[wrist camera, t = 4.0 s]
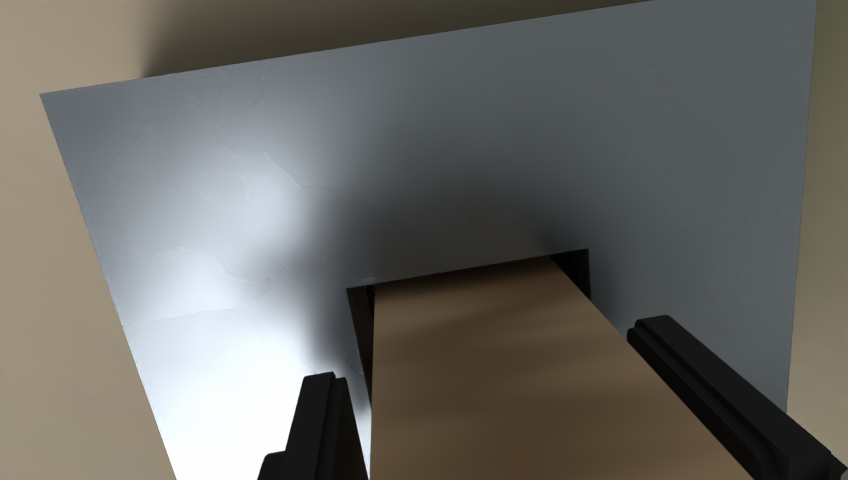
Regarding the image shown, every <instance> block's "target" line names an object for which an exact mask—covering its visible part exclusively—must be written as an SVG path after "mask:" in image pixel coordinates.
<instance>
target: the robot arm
mask: <svg viewBox="0 0 848 480" xmlns="http://www.w3.org/2000/svg"><path fill="white" fill-rule="evenodd" d="M627 342H628V343H629V344H630V345H631V346H632V347H633V348H634V349H635V351H636V352H637V353H638V354H639V355H640V356H641V357H642V358H643V359H644V360H645V361H646V363H647V364H648V365H649V366H650V367H651V368H652V369H653V370H654V371H655V372H656V373H657V375H658V376H659V377H660V378H661V379H662V380H663V381H664V382H665V383H666V384H667V385H668V387H669V388H670V389H671V390H672V391H673V392H674V393H675V394H676V395H677V396H678V397H679V399H680V400H681V401H682V402H683V403H684V404H685V405H686V406H687V407H688V408H689V409H690V411H691V412H692V413H693V414H694V415H695V416H696V417H697V418H698V419H699V420H700V421H701V423H702V424H703V425H704V426H705V427H706V428H707V429H708V430H709V431H710V432H711V433H712V435H713V436H714V437H715V438H716V439H717V440H718V441H719V442H720V443H721V444H722V445H723V447H724V448H725V449H726V450H727V451H728V452H729V453H730V454H731V455H732V456H733V457H734V459H735V460H736V461H737V462H738V463H739V464H740V465H741V466H742V467H743V468H744V469H745V471H746V472H747V473H748V474H749V475H750V476H751V477H752V478H753V479H754V480H848V467H846V466H845V465H844V464H843V463H842V462H840V461H839V460H838V459H837V458H836V457H835V456H833V455H832V454H831V451H830V450H829V449H827V448H826V447H825V446H824V445H823V444H821V443H820V442H819V441H818V440H817V439H815V438H814V437H813V436H812V435H811V434H809V433H808V432H807V431H806V430H805V429H804V428H802V427H801V426H800V425H799V424H798V423H796V422H795V421H794V420H793V419H792V418H790V417H789V416H788V415H787V414H786V413H785V412H783V411H782V410H781V409H780V408H779V407H777V406H776V405H775V404H774V403H773V402H771V401H770V400H769V399H768V398H767V397H766V396H764V395H763V394H762V393H761V392H760V391H758V390H757V389H756V388H755V387H754V386H752V385H751V384H750V383H749V382H748V381H746V380H745V379H744V378H743V377H742V376H741V375H739V374H738V373H737V372H736V371H735V370H733V369H732V368H731V367H730V366H729V365H727V364H726V363H725V362H724V361H723V360H722V359H720V358H719V357H718V356H717V355H716V354H714V353H713V352H712V351H711V350H710V349H708V348H707V347H706V346H705V345H704V344H703V343H701V342H700V341H699V340H698V339H697V338H695V337H694V336H693V335H692V334H691V333H689V332H688V331H687V330H686V329H685V328H683V327H682V326H681V325H680V324H679V323H678V322H676V321H675V320H674V319H673V318H672V317H670V316H669V315H660V316H654V317H648V318H643V319H637V321H636V322H635V325H634V328H629V329H628V331H627ZM257 480H369V479H368V474H367V470H366V465H365V461H364V456H363V451H362V447H361V442H360V438H359V433H358V429H357V424H356V420H355V415H354V411H353V406H352V401H351V397H350V392H349V388H348V383H347V380H346V378H345V377H341V378H336V375H335V373H334V372H333V371H331V372H325V373H319V374H313V375H307V376H304V378H303V381H302V385H301V389H300V393H299V397H298V401H297V405H296V409H295V412H294V416H293V420H292V424H291V428H290V432H289V436H288V440H287V444H286V448H285V451H280V452H274V453H268V454H267V455H266V456H265V457H264V460H263V462H262V465H261V468H260V471H259V475H258V478H257Z"/></svg>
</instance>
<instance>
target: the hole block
mask: <svg viewBox="0 0 848 480" xmlns="http://www.w3.org/2000/svg"><path fill="white" fill-rule="evenodd" d="M816 8H817V0H652V1H645V2H638V3H632V4H625V5H619V6H612V7H606V8H599V9H593V10H586V11H579V12H573V13H566V14H560V15H553V16H547V17H540V18H534V19H527V20H520V21H514V22H507V23H501V24H494V25H488V26H481V27H475V28H468V29H461V30H455V31H448V32H442V33H435V34H429V35H422V36H416V37H409V38H402V39H396V40H389V41H383V42H376V43H370V44H363V45H357V46H350V47H343V48H337V49H330V50H324V51H317V52H311V53H304V54H298V55H291V56H284V57H278V58H271V59H265V60H258V61H252V62H245V63H239V64H232V65H225V66H219V67H212V68H206V69H199V70H193V71H186V72H180V73H173V74H166V75H160V76H153V77H147V78H140V79H134V80H127V81H121V82H114V83H107V84H101V85H94V86H88V87H81V88H75V89H68V90H62V91H55V92H48V93H42V94H40V97H41V100H42V103H43V106H44V108H45V111H46V114H47V117H48V120H49V122H50V125H51V128H52V131H53V134H54V136H55V139H56V142H57V145H58V148H59V150H60V153H61V156H62V159H63V162H64V164H65V167H66V170H67V173H68V176H69V178H70V181H71V184H72V187H73V190H74V192H75V195H76V198H77V201H78V204H79V206H80V209H81V212H82V215H83V218H84V220H85V223H86V226H87V229H88V232H89V234H90V237H91V240H92V243H93V246H94V248H95V251H96V254H97V257H98V260H99V262H100V265H101V268H102V271H103V274H104V276H105V279H106V282H107V285H108V288H109V290H110V293H111V296H112V299H113V302H114V305H115V307H116V310H117V313H118V316H119V319H120V321H121V324H122V327H123V330H124V333H125V335H126V338H127V341H128V344H129V347H130V349H131V352H132V355H133V358H134V361H135V363H136V366H137V369H138V372H139V375H140V377H141V380H142V383H143V386H144V389H145V391H146V394H147V397H148V400H149V403H150V405H151V408H152V411H153V414H154V417H155V419H156V422H157V425H158V428H159V431H160V433H161V436H162V439H163V442H164V445H165V447H166V450H167V453H168V456H169V459H170V461H171V464H172V467H173V470H174V473H175V475H176V478H177V480H257V478H258V475H259V471H260V468H261V465H262V462H263V460H264V457H265V456H266V455H267V454H268V453H274V452H280V451H285V448H286V444H287V440H288V436H289V432H290V428H291V424H292V420H293V416H294V412H295V409H296V405H297V401H298V397H299V393H300V389H301V385H302V381H303V378H304V376H307V375H313V374H319V373H325V372H331V371H333V372H334V373H335V375H336V378H341V377H345V378H346V380H347V383H348V388H349V392H350V397H351V401H352V406H353V411H354V415H355V420H356V424H357V429H358V433H359V438H360V442H361V447H362V451H363V456H364V461H365V465H366V470H367V474H368V479H370V445H371V411H372V377H373V343H374V326H373V321H372V316H371V311H370V306H369V301H368V296H367V291H366V285H369V284H375V283H381V282H387V281H393V280H399V279H405V278H412V277H418V276H424V275H430V274H436V273H442V272H448V271H454V270H460V269H466V268H472V267H478V266H484V265H490V264H496V263H502V262H508V261H514V260H520V259H526V258H532V257H538V256H544V255H548V256H549V257H550V258H551V259H552V260H553V261H554V262H555V263H556V264H557V265H558V267H559V268H560V269H561V270H562V271H563V272H564V273H565V274H566V275H567V276H568V277H569V279H570V280H571V281H572V282H573V283H574V284H575V285H576V286H577V287H578V288H579V289H580V291H581V292H582V293H583V294H584V295H585V296H586V297H587V298H588V299H589V300H590V301H591V303H592V304H593V305H594V306H595V307H596V308H597V309H598V310H599V311H600V312H601V313H602V315H603V316H604V317H605V318H606V319H607V320H608V321H609V322H610V323H611V324H612V325H613V327H614V328H615V329H616V330H617V331H618V332H619V333H620V334H621V335H622V336H623V337H624V339H625V340H626V341H627V331H628V329H629V328H634V325H635V322H636V321H637V319H643V318H648V317H654V316H660V315H669V316H670V317H672V318H673V319H674V320H675V321H676V322H678V323H679V324H680V325H681V326H682V327H683V328H685V329H686V330H687V331H688V332H689V333H691V334H692V335H693V336H694V337H695V338H697V339H698V340H699V341H700V342H701V343H703V344H704V345H705V346H706V347H707V348H708V349H710V350H711V351H712V352H713V353H714V354H716V355H717V356H718V357H719V358H720V359H722V360H723V361H724V362H725V363H726V364H727V365H729V366H730V367H731V368H732V369H733V370H735V371H736V372H737V373H738V374H739V375H741V376H742V377H743V378H744V379H745V380H746V381H748V382H749V383H750V384H751V385H752V386H754V387H755V388H756V389H757V390H758V391H760V392H761V393H762V394H763V395H764V396H766V397H767V398H768V399H769V400H770V401H771V402H773V403H774V404H775V405H776V406H777V407H779V408H780V409H781V410H782V411H783V412H785V413H786V412H787V399H788V385H789V372H790V358H791V345H792V331H793V318H794V304H795V291H796V277H797V264H798V250H799V237H800V223H801V210H802V197H803V183H804V170H805V156H806V143H807V129H808V116H809V102H810V89H811V75H812V62H813V48H814V35H815V22H816Z"/></svg>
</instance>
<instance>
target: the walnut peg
mask: <svg viewBox="0 0 848 480" xmlns="http://www.w3.org/2000/svg"><path fill="white" fill-rule="evenodd" d="M369 480H754V479H753V478H752V477H751V476H750V475H749V474H748V473H747V472H746V471H745V469H744V468H743V467H742V466H741V465H740V464H739V463H738V462H737V461H736V460H735V459H734V457H733V456H732V455H731V454H730V453H729V452H728V451H727V450H726V449H725V448H724V447H723V445H722V444H721V443H720V442H719V441H718V440H717V439H716V438H715V437H714V436H713V435H712V433H711V432H710V431H709V430H708V429H707V428H706V427H705V426H704V425H703V424H702V423H701V421H700V420H699V419H698V418H697V417H696V416H695V415H694V414H693V413H692V412H691V411H690V409H689V408H688V407H687V406H686V405H685V404H684V403H683V402H682V401H681V400H680V399H679V397H678V396H677V395H676V394H675V393H674V392H673V391H672V390H671V389H670V388H669V387H668V385H667V384H666V383H665V382H664V381H663V380H662V379H661V378H660V377H659V376H658V375H657V373H656V372H655V371H654V370H653V369H652V368H651V367H650V366H649V365H648V364H647V363H646V361H645V360H644V359H643V358H642V357H641V356H640V355H639V354H638V353H637V352H636V351H635V349H634V348H633V347H632V346H631V345H630V344H629V343H628V342H627V341H626V340H625V339H624V337H623V336H622V335H621V334H620V333H619V332H618V331H617V330H616V329H615V328H614V327H613V325H612V324H611V323H610V322H609V321H608V320H607V319H606V318H605V317H604V316H603V315H602V313H601V312H600V311H599V310H598V309H597V308H596V307H595V306H594V305H593V304H592V303H591V301H590V300H589V299H588V298H587V297H586V296H585V295H584V294H583V293H582V292H581V291H580V289H579V288H578V287H577V286H576V285H575V284H574V283H573V282H572V281H571V280H570V279H569V277H568V276H567V275H566V274H565V273H564V272H563V271H562V270H561V269H560V268H559V267H558V265H557V264H556V263H555V262H554V261H553V260H552V259H551V258H550V257H549V256H548V255H544V256H538V257H532V258H526V259H520V260H514V261H508V262H502V263H496V264H490V265H484V266H478V267H472V268H466V269H460V270H454V271H448V272H442V273H436V274H430V275H424V276H418V277H412V278H405V279H399V280H393V281H387V282H381V283H375V310H374V343H373V377H372V411H371V445H370V479H369Z"/></svg>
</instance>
